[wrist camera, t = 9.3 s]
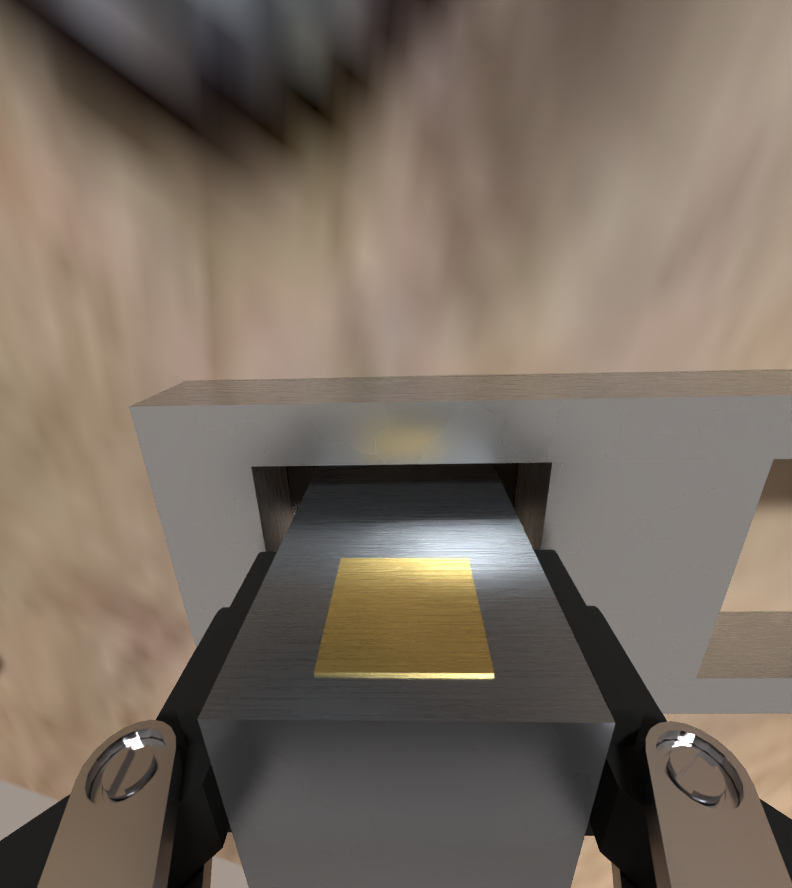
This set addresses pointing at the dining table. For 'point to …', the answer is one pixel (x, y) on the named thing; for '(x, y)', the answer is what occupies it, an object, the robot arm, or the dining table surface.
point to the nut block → (406, 695)
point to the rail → (537, 494)
